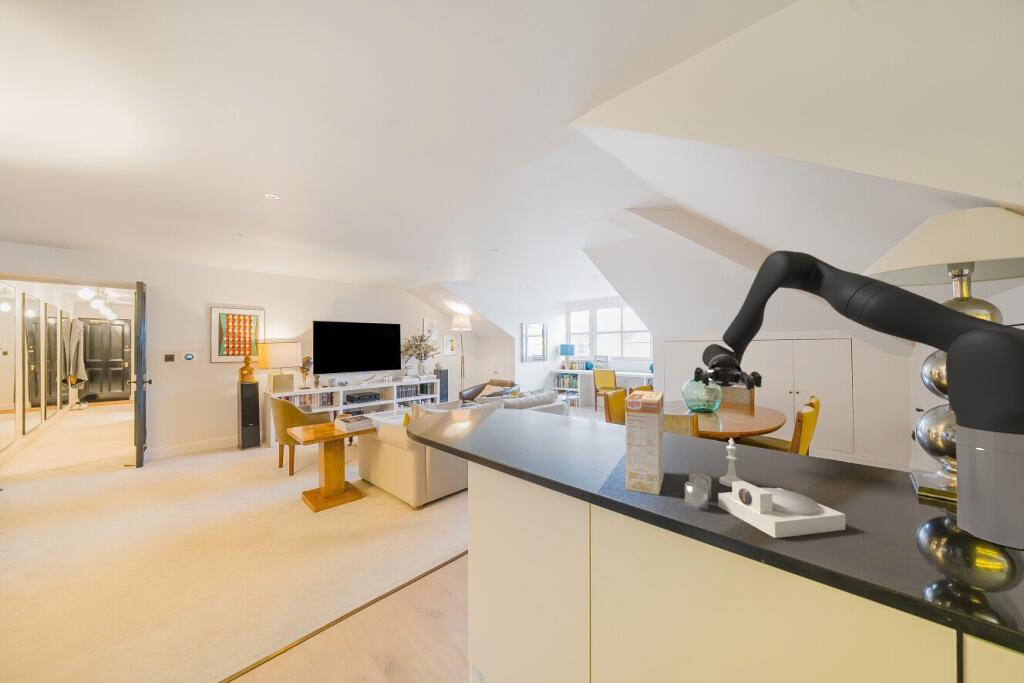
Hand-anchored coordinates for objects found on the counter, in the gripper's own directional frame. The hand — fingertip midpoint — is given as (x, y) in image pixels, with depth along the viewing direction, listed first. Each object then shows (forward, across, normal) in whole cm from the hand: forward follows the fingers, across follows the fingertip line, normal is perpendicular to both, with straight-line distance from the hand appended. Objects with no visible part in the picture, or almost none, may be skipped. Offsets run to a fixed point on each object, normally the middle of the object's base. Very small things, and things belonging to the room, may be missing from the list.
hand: (728, 383), depth 87 cm
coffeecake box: (+14, -16, +21) cm, 30 cm away
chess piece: (+7, +2, +21) cm, 22 cm away
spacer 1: (+18, -5, +20) cm, 27 cm away
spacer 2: (+24, -5, +19) cm, 31 cm away
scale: (+22, +8, +18) cm, 30 cm away
